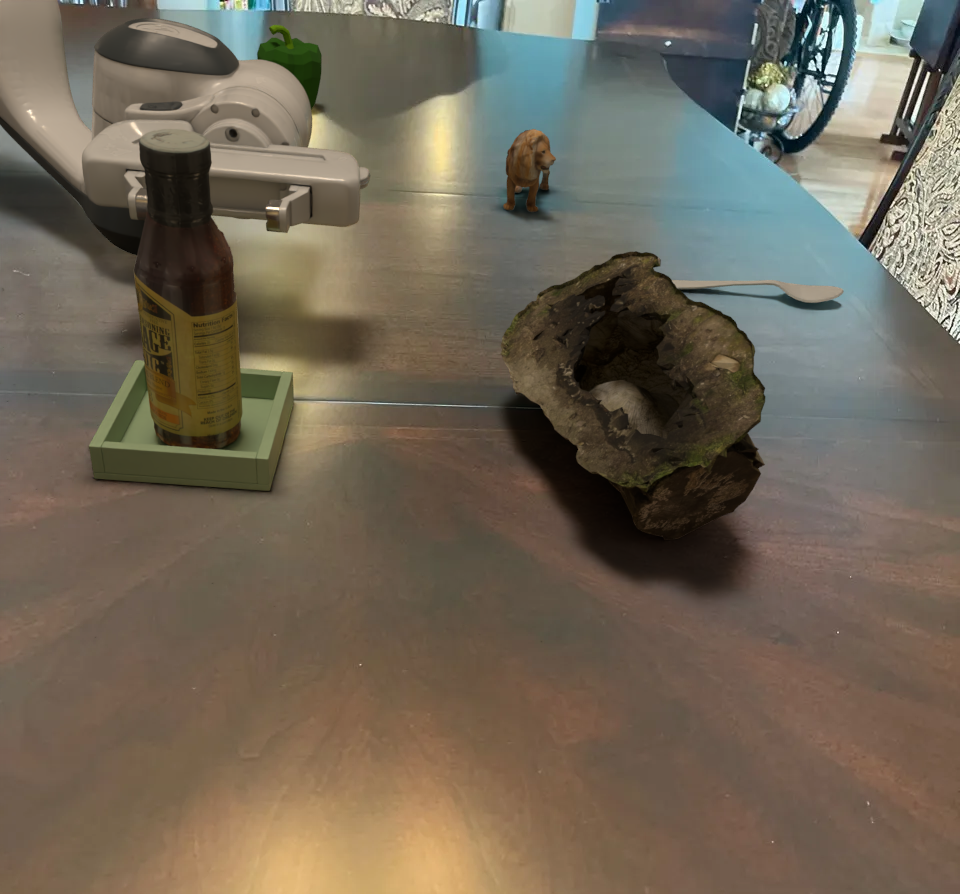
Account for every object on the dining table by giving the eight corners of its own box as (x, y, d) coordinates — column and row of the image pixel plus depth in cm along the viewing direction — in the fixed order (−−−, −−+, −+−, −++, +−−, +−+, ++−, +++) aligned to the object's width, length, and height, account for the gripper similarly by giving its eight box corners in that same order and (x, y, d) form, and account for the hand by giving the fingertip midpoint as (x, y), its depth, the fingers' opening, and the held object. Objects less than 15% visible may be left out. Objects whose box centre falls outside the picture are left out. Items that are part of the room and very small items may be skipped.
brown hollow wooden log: (680, 641, 70) (881, 503, 64) (566, 538, 62) (783, 372, 57) (580, 420, 90) (726, 301, 84) (484, 321, 82) (638, 184, 77)
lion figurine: (547, 225, 115) (559, 137, 109) (499, 220, 115) (508, 132, 109) (549, 183, 126) (560, 102, 120) (505, 178, 126) (514, 97, 120)
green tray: (93, 478, 70) (88, 445, 68) (139, 390, 79) (135, 359, 78) (269, 491, 70) (268, 458, 69) (293, 402, 80) (293, 371, 78)
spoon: (843, 313, 103) (848, 297, 102) (635, 291, 103) (638, 275, 102) (834, 296, 106) (839, 280, 105) (632, 275, 106) (635, 259, 105)
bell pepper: (315, 100, 145) (314, 18, 139) (327, 117, 140) (327, 32, 133) (254, 100, 143) (250, 16, 136) (264, 117, 137) (260, 30, 131)
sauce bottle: (146, 419, 75) (107, 120, 62) (233, 409, 77) (212, 118, 65) (163, 465, 71) (124, 154, 58) (255, 453, 73) (237, 151, 60)
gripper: (371, 208, 86) (356, 272, 76) (118, 186, 85) (68, 247, 75) (373, 126, 82) (358, 181, 72) (107, 101, 81) (52, 154, 71)
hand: (207, 215), depth 73 cm, fingers open, 8 cm apart
